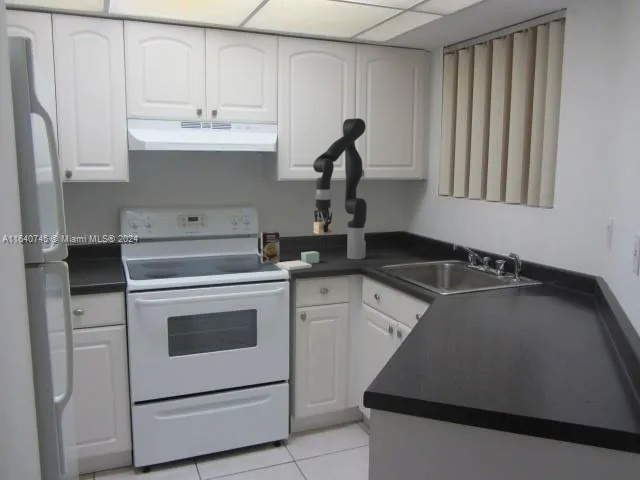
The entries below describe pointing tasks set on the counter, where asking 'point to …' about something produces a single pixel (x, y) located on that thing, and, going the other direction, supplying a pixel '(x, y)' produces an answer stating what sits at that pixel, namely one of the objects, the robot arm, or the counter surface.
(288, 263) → the baseplate
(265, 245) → the cookie box
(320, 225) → the maple brick
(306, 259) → the sage brick
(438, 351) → the counter surface
